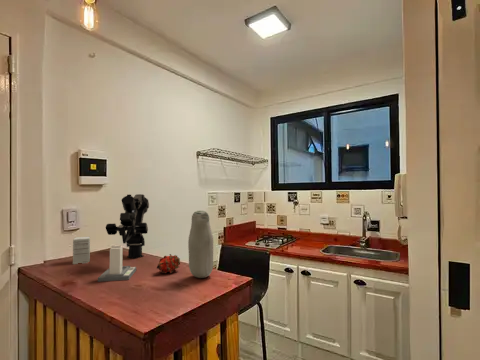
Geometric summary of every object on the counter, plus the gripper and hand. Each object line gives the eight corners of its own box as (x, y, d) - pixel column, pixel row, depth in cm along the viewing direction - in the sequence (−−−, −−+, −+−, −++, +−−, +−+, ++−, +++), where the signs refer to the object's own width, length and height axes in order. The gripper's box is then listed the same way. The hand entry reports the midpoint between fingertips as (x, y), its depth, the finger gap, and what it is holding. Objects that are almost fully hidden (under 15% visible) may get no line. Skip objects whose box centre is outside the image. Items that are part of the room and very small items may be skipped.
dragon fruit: (182, 272, 126) (159, 283, 118) (173, 260, 131) (149, 268, 122) (186, 260, 123) (163, 270, 114) (176, 247, 127) (153, 255, 118)
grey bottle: (217, 275, 117) (217, 210, 118) (202, 282, 108) (202, 211, 109) (199, 272, 122) (199, 209, 123) (183, 278, 113) (183, 211, 114)
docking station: (108, 271, 124) (108, 266, 124) (136, 270, 126) (136, 265, 126) (97, 281, 110) (97, 275, 111) (128, 279, 112) (128, 274, 112)
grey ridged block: (74, 261, 144) (74, 237, 144) (90, 259, 147) (90, 236, 148) (72, 264, 137) (72, 239, 138) (88, 262, 140) (89, 238, 141)
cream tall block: (112, 272, 117) (112, 245, 117) (122, 272, 117) (122, 244, 118) (109, 275, 113) (109, 246, 113) (119, 275, 113) (119, 246, 114)
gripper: (107, 207, 132) (98, 233, 121) (146, 206, 135) (142, 231, 124) (111, 221, 140) (104, 247, 128) (149, 220, 143) (145, 245, 131)
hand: (124, 242), depth 128 cm, fingers closed
